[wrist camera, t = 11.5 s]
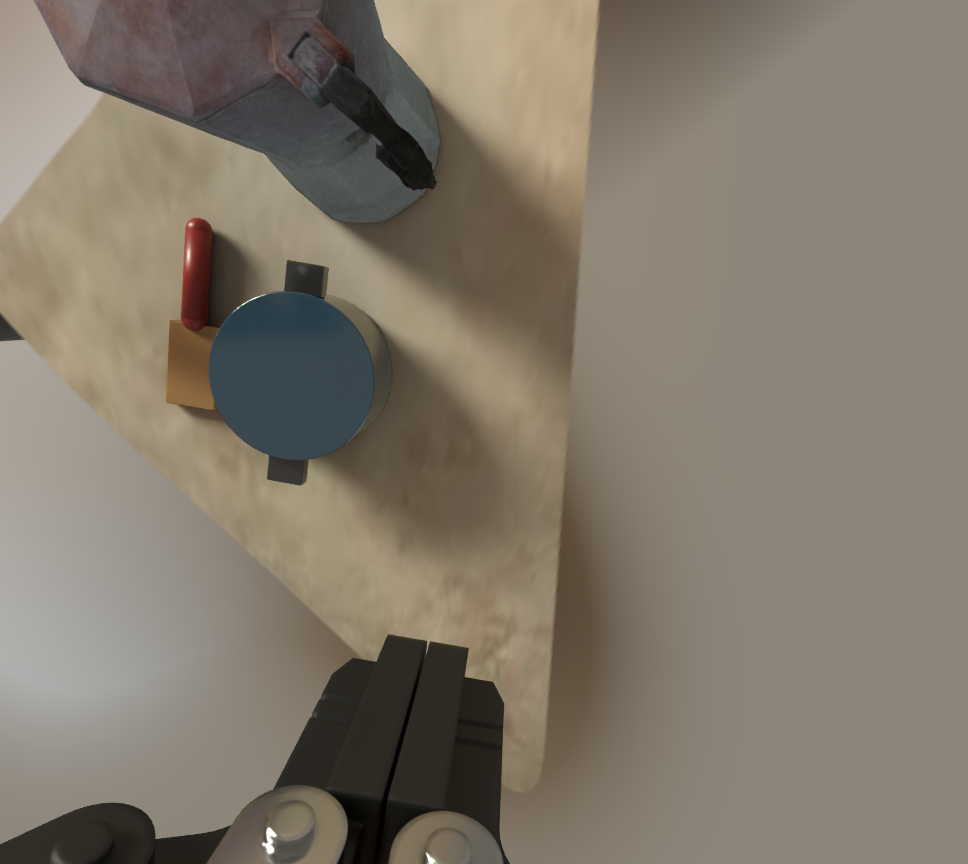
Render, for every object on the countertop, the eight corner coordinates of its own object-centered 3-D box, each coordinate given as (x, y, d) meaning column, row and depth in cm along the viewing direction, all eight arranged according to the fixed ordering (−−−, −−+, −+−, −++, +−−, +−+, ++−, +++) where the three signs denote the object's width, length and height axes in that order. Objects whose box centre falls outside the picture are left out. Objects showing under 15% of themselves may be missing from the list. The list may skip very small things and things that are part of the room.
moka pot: (303, -30, 31) (-62, -616, 11) (531, 158, 32) (556, -76, 13) (210, 127, 33) (-243, -144, 13) (429, 299, 34) (312, 284, 14)
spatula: (219, 408, 36) (207, 412, 35) (172, 400, 36) (158, 404, 35) (231, 224, 34) (219, 220, 32) (181, 216, 34) (166, 211, 32)
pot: (238, 451, 37) (200, 471, 32) (254, 255, 34) (215, 247, 30) (379, 476, 36) (360, 499, 32) (405, 281, 34) (388, 277, 29)
